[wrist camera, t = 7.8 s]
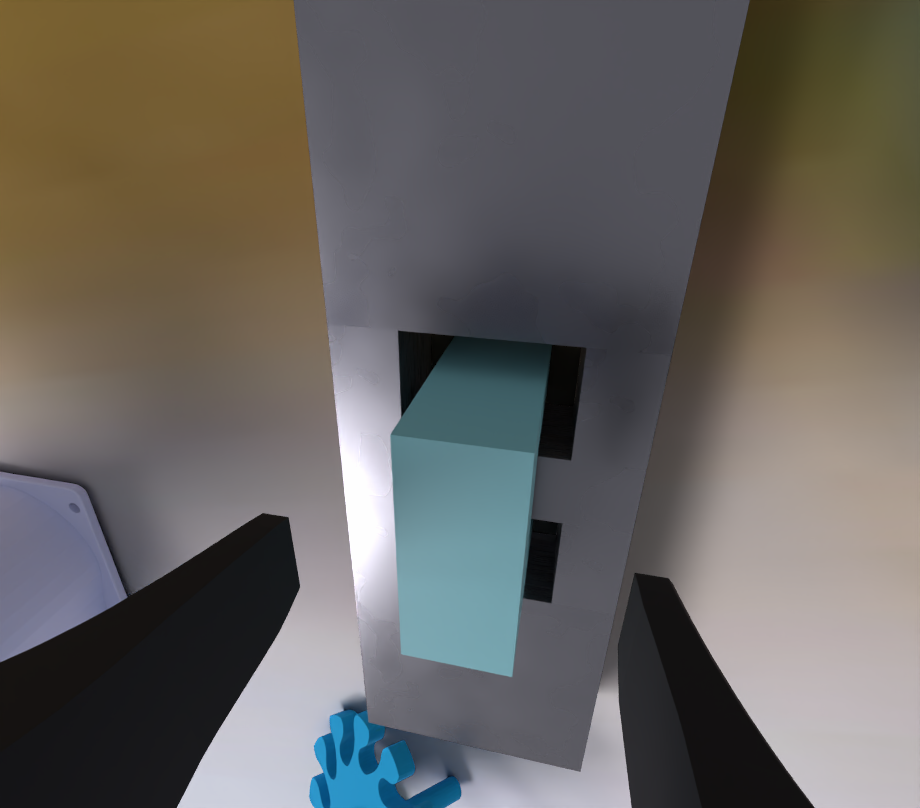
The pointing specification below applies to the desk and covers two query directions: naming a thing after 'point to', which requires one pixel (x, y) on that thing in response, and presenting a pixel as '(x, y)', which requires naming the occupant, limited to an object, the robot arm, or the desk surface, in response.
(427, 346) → the grey board with slots
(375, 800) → the blue lumpy piece
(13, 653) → the robot arm
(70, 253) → the desk surface
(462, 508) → the upright aqua box
